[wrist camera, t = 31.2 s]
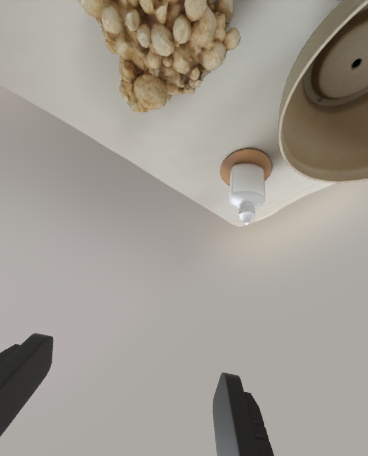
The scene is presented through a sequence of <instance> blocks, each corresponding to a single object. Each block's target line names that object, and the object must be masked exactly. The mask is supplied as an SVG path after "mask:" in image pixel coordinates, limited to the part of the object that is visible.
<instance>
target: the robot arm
mask: <svg viewBox="0 0 368 456" xmlns="http://www.w3.org/2000/svg"><path fill="white" fill-rule="evenodd" d="M52 350H53V337H51V336H47V335H42V334H37V333H35V334H33V335H31V336H30V337H29V338H28V339H27V340H26V341H25V342H24V343H22V344H21V345H18V344H15V345H13V346H11V347H10V348H8V349H6V350H4V351H3V352H1V353H0V436H1V435H2V434H3V432H4V431H5V430H6V429H7V427H8V426H9V425H10V423H11V422H12V421H13V419H14V418H15V417H16V415H17V414H18V413H19V411H20V410H21V409H22V407H23V406H24V405H25V403H26V402H27V401H28V399H29V398H30V397H31V396H32V394H33V393H34V392H35V390H36V389H37V388H38V386H39V385H40V384H41V382H42V381H43V379H44V378H45V377H46V375H47V373H48V371H49V369H50V367H51V363H52ZM213 418H214V419H213V420H214V429H215V440H216V450H217V456H274V454H273V451H272V448H271V444H270V442H269V438H268V435H267V432H266V428H265V427H264V422H263V419H262V415H261V412H260V409H259V406H258V405H257V403H256V401H255V400H254V398H253V396H252V395H251V393H247V392H244V391H243V387H242V383H241V379H240V377H239V376H237V375H233V374H228V373H222V374H221V376H220V379H219V383H218V386H217V389H216V392H215V395H214V399H213Z"/></svg>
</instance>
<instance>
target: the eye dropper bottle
mask: <svg viewBox="0 0 368 456" xmlns="http://www.w3.org/2000/svg"><path fill="white" fill-rule="evenodd" d="M264 201H265V183H264V170H263V168H262V167H260V166H258V165H254V164H249V163H243V164H237V165H234V166H233V167H232V170H231V175H230V191H229V202H230V203H231V204H232V205H234V206H236V207H238V208H239V218H240V219H241V220H244V224H245V225H249V223H250V220H252V219H254V218H255V209H256V208H259V207H261V206H262V205H263V203H264Z"/></svg>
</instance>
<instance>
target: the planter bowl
mask: <svg viewBox="0 0 368 456" xmlns="http://www.w3.org/2000/svg"><path fill="white" fill-rule="evenodd" d="M359 58H360V59H361V63H360V64H359V65H358V66H357V67H354V68H352V64H353V62H354V61H355V60H357V59H359ZM278 141H279V148H280V151H281V154H282V156H283V158H284V160H285V161H286V163H287V164H288V165H289V166H290V167H291V168H292V169H293V170H294V171H295V172H297V173H298V174H300V175H302V176H304V177H306V178H309V179H312V180H315V181H320V182H328V183H348V182H358V181H365V180H368V0H343V1H342V2H341V3H340V4H339V5H338V6H337V7H336V8H335V9H334V10H333V11H332V12H331V13H330V14H329V15H328V16H327V17H326V18H325V20H324V21H323V22H322V23H321V24H320V25H319V27H318V28H317V29H316V30H315V32H314V33H313V34H312V36H311V37H310V39H309V40H308V41H307V43H306V44H305V46H304V47H303V49H302V51H301V52H300V54H299V56H298V58H297V59H296V61H295V63H294V65H293V67H292V70H291V72H290V74H289V77H288V79H287V82H286V85H285V88H284V91H283V95H282V100H281V105H280V116H279V124H278Z"/></svg>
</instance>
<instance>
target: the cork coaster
mask: <svg viewBox="0 0 368 456" xmlns="http://www.w3.org/2000/svg"><path fill="white" fill-rule="evenodd" d="M243 163H249V164H254V165H258V166H260V167H262V168H263V170H264V181H265V180H266V179H267V178H268V177H269V175H270V173H271V168H272V166H271V161H270V159H269V157H268V156H267V155H266V154H265V153H263V152H262V151H259V150H256V149H241V150H238V151H236V152H233V153H232V154H230V155H229V156H228V157H227V158H226V159H225V160H224V161H223V163H222V165H221V170H220V173H221V177H222V179H223V181H224V182H225V183H226V184H228V185H229V186H230V175H231V170H232V167H233V166H234V165H237V164H243Z"/></svg>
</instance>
